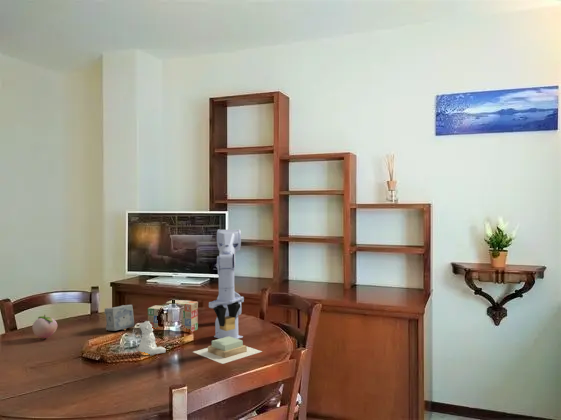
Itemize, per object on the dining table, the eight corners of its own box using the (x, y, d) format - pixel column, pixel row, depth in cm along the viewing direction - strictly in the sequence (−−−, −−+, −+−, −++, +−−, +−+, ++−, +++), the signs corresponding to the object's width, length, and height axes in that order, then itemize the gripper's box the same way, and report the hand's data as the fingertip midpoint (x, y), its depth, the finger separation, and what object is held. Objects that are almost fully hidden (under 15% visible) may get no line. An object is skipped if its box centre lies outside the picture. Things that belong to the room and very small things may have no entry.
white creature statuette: (167, 353, 170) (166, 320, 169) (146, 359, 163) (145, 325, 163) (153, 348, 176) (152, 316, 176) (132, 353, 170) (131, 320, 170)
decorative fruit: (27, 341, 187) (26, 316, 186) (44, 335, 194) (44, 311, 194) (44, 343, 183) (44, 318, 183) (61, 337, 191) (61, 313, 190)
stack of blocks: (147, 329, 203) (147, 301, 203) (155, 325, 209) (155, 298, 208) (191, 333, 196) (191, 304, 196) (198, 329, 202) (198, 300, 202)
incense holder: (124, 325, 209) (124, 302, 209) (135, 328, 204) (134, 305, 203) (104, 330, 201) (103, 306, 201) (114, 333, 196) (114, 309, 196)
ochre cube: (219, 328, 169) (219, 317, 169) (228, 326, 172) (228, 315, 172) (226, 330, 166) (226, 319, 166) (235, 328, 169) (234, 317, 169)
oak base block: (207, 351, 169) (207, 346, 169) (229, 345, 176) (229, 340, 176) (224, 358, 162) (224, 352, 162) (246, 351, 169) (246, 346, 169)
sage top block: (211, 346, 169) (211, 340, 169) (229, 341, 175) (229, 336, 175) (225, 351, 164) (225, 345, 164) (242, 346, 169) (242, 340, 169)
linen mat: (192, 353, 170) (192, 351, 170) (231, 342, 182) (231, 341, 182) (222, 364, 157) (222, 363, 157) (262, 352, 169) (262, 351, 169)
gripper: (217, 291, 161) (217, 330, 161) (248, 286, 171) (249, 322, 171) (205, 289, 166) (205, 326, 166) (236, 283, 176) (237, 319, 177)
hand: (227, 324), depth 169 cm, fingers closed on ochre cube, 4 cm apart
